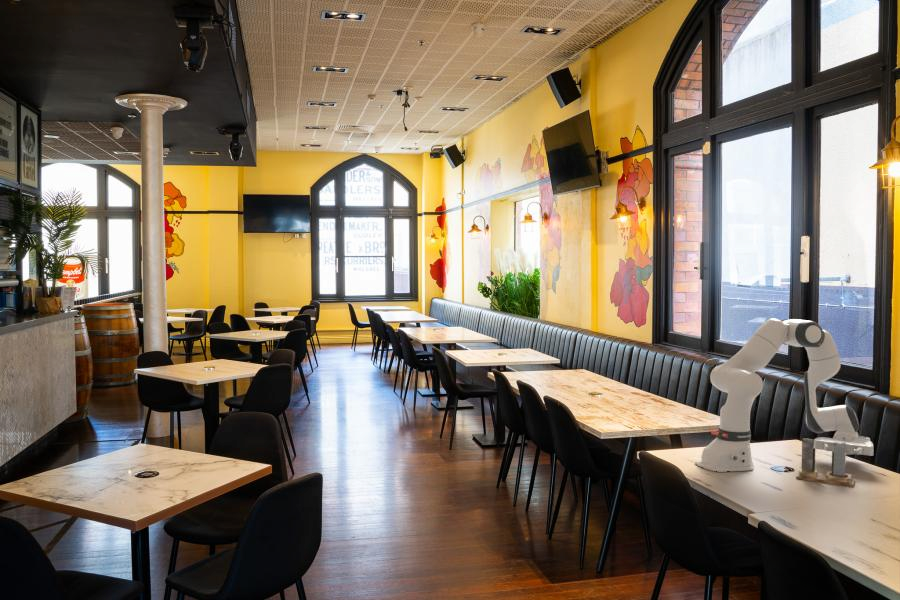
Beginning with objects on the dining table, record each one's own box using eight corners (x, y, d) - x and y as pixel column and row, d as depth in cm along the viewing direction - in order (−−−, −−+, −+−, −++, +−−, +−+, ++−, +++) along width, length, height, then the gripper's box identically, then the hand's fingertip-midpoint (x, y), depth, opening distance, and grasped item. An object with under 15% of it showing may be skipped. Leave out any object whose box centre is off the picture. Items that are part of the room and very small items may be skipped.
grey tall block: (831, 479, 258) (832, 442, 257) (832, 477, 261) (833, 440, 260) (844, 481, 256) (845, 444, 255) (845, 478, 258) (846, 442, 258)
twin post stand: (796, 478, 262) (796, 440, 261) (799, 473, 269) (800, 435, 269) (853, 487, 252) (854, 447, 251) (855, 480, 259) (856, 441, 259)
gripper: (815, 431, 284) (811, 438, 273) (874, 438, 273) (873, 445, 262) (815, 447, 285) (811, 454, 273) (874, 454, 274) (872, 462, 262)
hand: (841, 450), depth 267 cm, fingers open, 8 cm apart
